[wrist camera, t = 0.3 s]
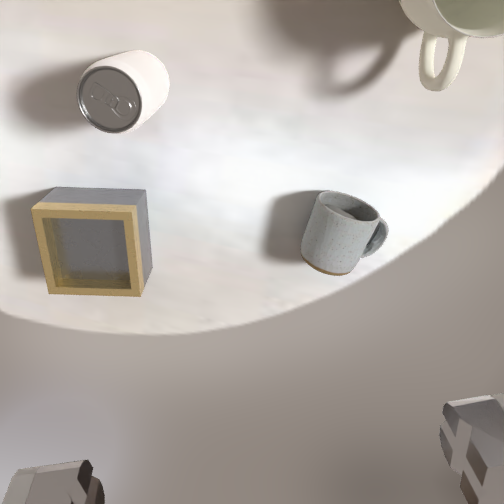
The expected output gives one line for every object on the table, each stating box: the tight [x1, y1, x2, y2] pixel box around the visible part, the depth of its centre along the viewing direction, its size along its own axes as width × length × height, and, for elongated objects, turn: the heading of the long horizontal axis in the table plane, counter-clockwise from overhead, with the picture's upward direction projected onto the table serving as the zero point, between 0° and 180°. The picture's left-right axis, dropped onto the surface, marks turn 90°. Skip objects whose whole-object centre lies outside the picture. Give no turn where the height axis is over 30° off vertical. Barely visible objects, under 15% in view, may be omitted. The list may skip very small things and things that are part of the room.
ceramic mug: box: [300, 191, 388, 276], centre depth 54 cm, size 11×8×8 cm
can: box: [77, 50, 170, 134], centre depth 44 cm, size 6×6×12 cm
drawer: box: [31, 187, 153, 297], centre depth 55 cm, size 13×11×7 cm
